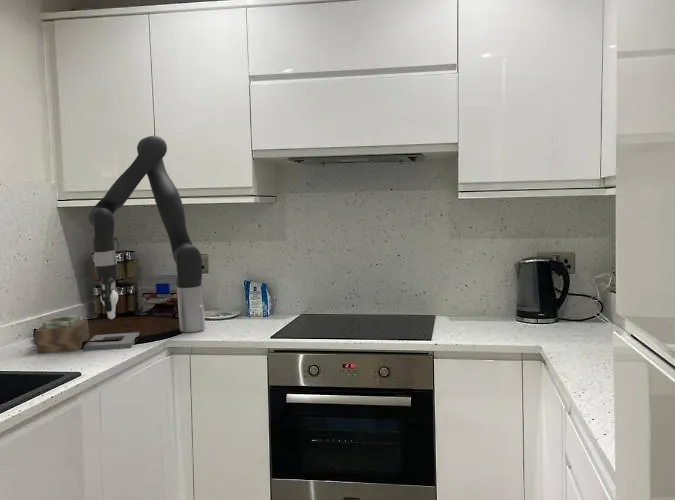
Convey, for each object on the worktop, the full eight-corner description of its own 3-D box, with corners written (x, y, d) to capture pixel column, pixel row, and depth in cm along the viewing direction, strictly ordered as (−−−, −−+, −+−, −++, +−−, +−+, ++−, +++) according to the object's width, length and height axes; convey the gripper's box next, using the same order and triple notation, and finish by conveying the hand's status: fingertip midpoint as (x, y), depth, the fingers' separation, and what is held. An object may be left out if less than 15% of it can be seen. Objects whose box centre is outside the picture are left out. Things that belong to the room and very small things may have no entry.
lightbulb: (99, 320, 234) (95, 290, 232) (112, 316, 239) (108, 287, 238) (111, 321, 231) (108, 291, 230) (124, 317, 236) (121, 287, 235)
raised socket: (89, 340, 242) (87, 314, 241) (78, 350, 228) (76, 322, 227) (50, 343, 241) (47, 316, 239) (37, 353, 227) (34, 325, 226)
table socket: (139, 336, 245) (139, 332, 245) (131, 347, 229) (130, 343, 229) (95, 339, 243) (95, 335, 243) (84, 350, 227) (83, 346, 227)
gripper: (112, 265, 226) (117, 313, 228) (120, 260, 240) (125, 304, 242) (89, 267, 225) (95, 314, 227) (99, 261, 239) (104, 306, 241)
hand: (110, 309), depth 235 cm, fingers closed on lightbulb, 5 cm apart
